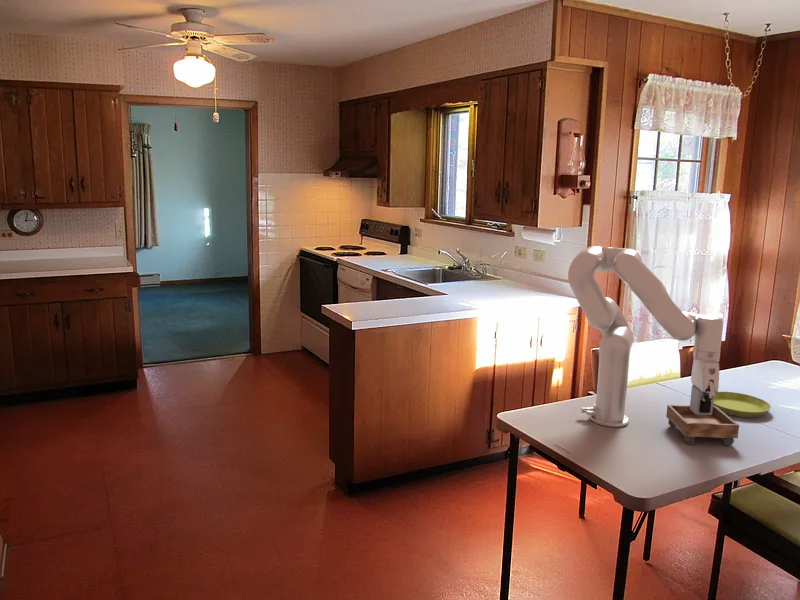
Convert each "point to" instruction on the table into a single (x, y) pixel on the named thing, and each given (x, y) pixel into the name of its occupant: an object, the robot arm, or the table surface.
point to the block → (698, 401)
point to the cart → (702, 424)
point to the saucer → (740, 404)
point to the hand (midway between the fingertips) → (700, 408)
